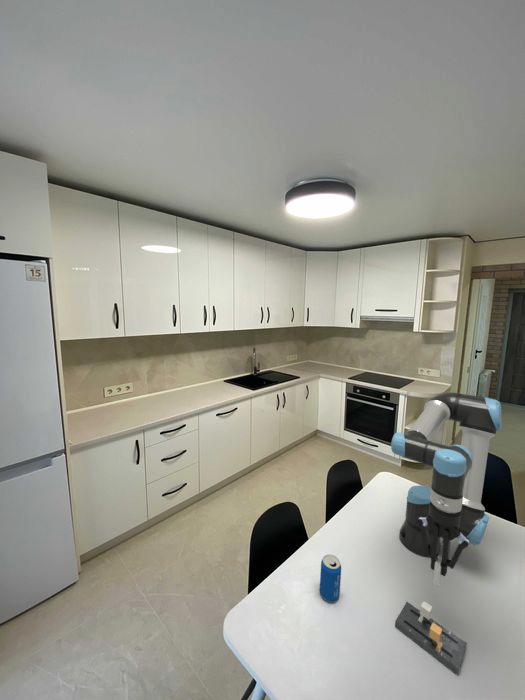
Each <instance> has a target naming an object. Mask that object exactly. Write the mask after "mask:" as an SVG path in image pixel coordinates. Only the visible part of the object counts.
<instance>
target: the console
mask: <svg viewBox="0 0 525 700" xmlns="http://www.w3.org/2000/svg"><path fill="white" fill-rule="evenodd" d="M420 611H421V609H419V608H417V607H416V606H414V604H413V605H412V604H411V603H410V602H409V601H406V602H405V604H404V605H403V608H402V609H401V611H400V612H399V614H398V615H397V618H396V619H395V621H394V622H395V623H394V628H396V629H397V630H398V631H399V632H401V633H402V634H404V635H405V636H406V637H407V638H409V639H410V640H411V641H412V642H414V643H415V644H417V646H419V647H420V648H421V649H423V650H424V651H426V652H427V653H428V654H429V655H430V656H432V657H433V658H434V659H435V660H437V661H438V662H439V663H440V664H442V665H443V666H444V667H446V668H447V669H449V671H451V672H453V673H454V674H455V675H456V676H459V672H460V670H461V667H462V663H463V660H464V657H465V653H466V651H467V646H468V645H467V642H466V641H465V640H463V639H462V638H460V637H459V636H458V635H456V634H455V633H453V632H452V631H450V630H449V629H447V628H446V627H444V626H443V625H442V624H440V623H439V622H437V621H436V620H434V619H433V618H432V617H430V619H429V620H428V621H427V622H425V621H424V620H423V616H422V615H421V614H420ZM432 623H434V624H436V625H437V626H439V627H440V628H442V637H441V640H440V642H439V644H438V643H437V645H436V646H435V645H434V644H433V643H432V638H430V637H429V633H430V627H431V625H432Z"/></svg>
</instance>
